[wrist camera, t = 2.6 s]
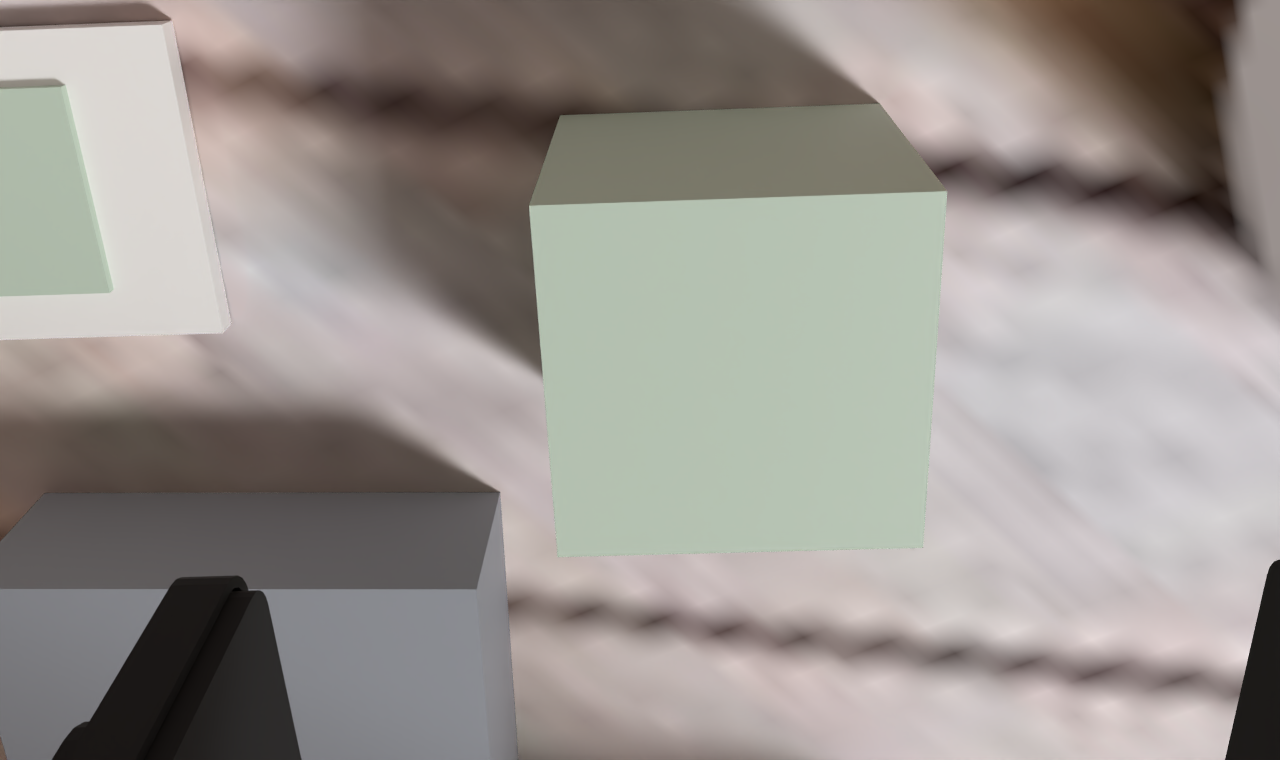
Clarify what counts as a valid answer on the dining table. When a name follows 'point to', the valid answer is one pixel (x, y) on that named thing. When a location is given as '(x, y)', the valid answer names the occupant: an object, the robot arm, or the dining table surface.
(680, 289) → the sage cube
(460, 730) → the slate base block
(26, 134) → the card
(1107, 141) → the dining table surface
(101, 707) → the robot arm
